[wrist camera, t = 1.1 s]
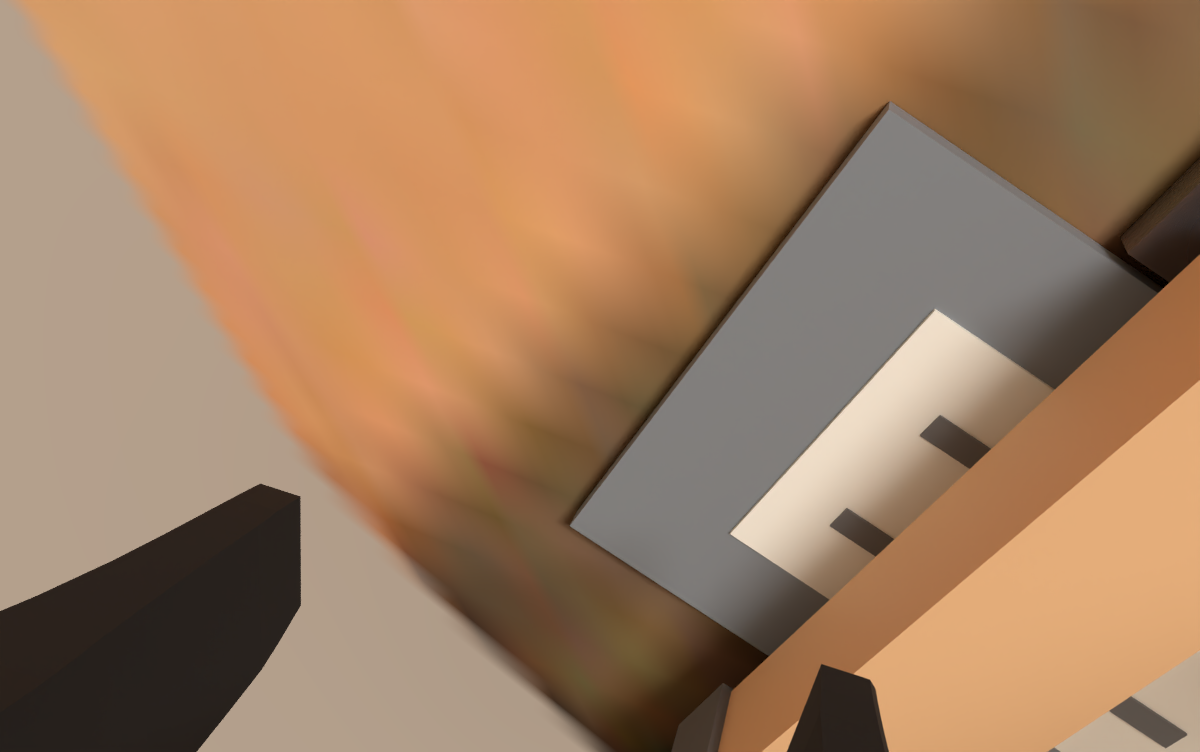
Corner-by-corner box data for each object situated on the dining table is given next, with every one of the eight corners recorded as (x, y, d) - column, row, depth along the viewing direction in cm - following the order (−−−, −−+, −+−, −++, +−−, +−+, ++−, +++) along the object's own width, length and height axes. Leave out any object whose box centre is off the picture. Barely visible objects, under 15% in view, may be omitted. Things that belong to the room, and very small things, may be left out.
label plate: (1683, 643, 19) (1710, 673, 18) (1172, 901, 25) (1179, 929, 25) (889, 101, 18) (888, 111, 17) (576, 511, 24) (567, 529, 24)
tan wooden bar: (1314, 91, 15) (1465, 200, 11) (1523, 236, 15) (1751, 398, 11) (685, 700, 25) (636, 881, 21) (815, 785, 25) (793, 981, 21)
